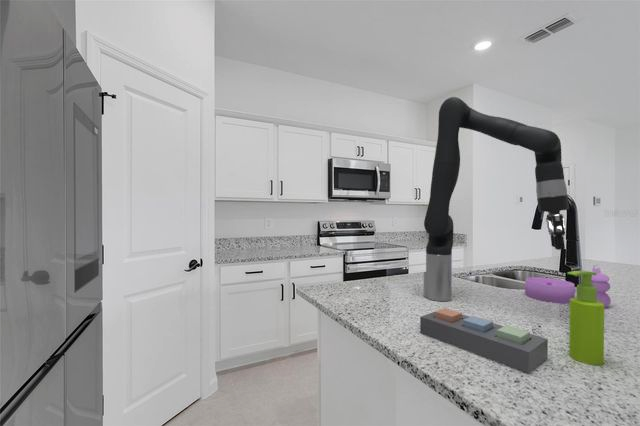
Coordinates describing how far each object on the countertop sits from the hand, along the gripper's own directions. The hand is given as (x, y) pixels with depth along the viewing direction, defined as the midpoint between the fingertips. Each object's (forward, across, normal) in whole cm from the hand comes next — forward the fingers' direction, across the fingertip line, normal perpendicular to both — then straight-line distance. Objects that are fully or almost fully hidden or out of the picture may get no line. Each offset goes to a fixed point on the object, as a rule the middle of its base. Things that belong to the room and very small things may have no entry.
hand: (558, 248), depth 93 cm
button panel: (+21, +32, -22) cm, 43 cm away
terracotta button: (+17, +29, -29) cm, 44 cm away
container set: (+23, -29, +3) cm, 37 cm away
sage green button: (+18, +35, -14) cm, 42 cm away
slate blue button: (+18, +32, -21) cm, 42 cm away
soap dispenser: (+23, +27, 0) cm, 35 cm away
